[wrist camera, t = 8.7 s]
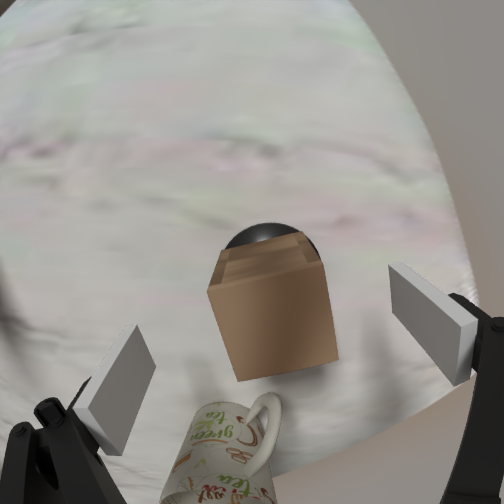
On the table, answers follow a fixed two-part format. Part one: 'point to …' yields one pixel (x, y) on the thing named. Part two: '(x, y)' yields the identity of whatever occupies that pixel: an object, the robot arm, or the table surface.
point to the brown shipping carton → (273, 307)
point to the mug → (226, 456)
